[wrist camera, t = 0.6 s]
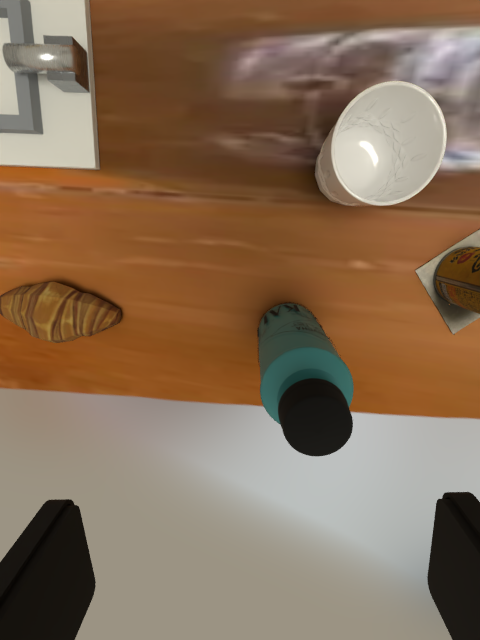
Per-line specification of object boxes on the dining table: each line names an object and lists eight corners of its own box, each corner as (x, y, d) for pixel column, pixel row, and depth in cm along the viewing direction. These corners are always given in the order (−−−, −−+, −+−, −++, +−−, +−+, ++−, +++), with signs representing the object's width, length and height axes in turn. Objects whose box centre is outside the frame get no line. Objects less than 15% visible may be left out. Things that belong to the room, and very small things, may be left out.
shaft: (31, 91, 32) (5, 74, 28) (27, 50, 31) (-1, 28, 27) (90, 93, 32) (71, 77, 28) (87, 52, 31) (67, 30, 27)
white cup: (297, 144, 33) (316, 111, 23) (377, 109, 32) (431, 59, 22) (323, 223, 35) (350, 222, 25) (399, 192, 34) (458, 179, 24)
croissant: (7, 330, 39) (-27, 344, 35) (3, 271, 38) (-34, 278, 33) (124, 343, 39) (106, 359, 35) (125, 285, 38) (107, 293, 33)
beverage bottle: (310, 357, 39) (368, 488, 19) (251, 349, 39) (251, 472, 19) (321, 301, 37) (396, 383, 18) (260, 293, 37) (268, 367, 18)
